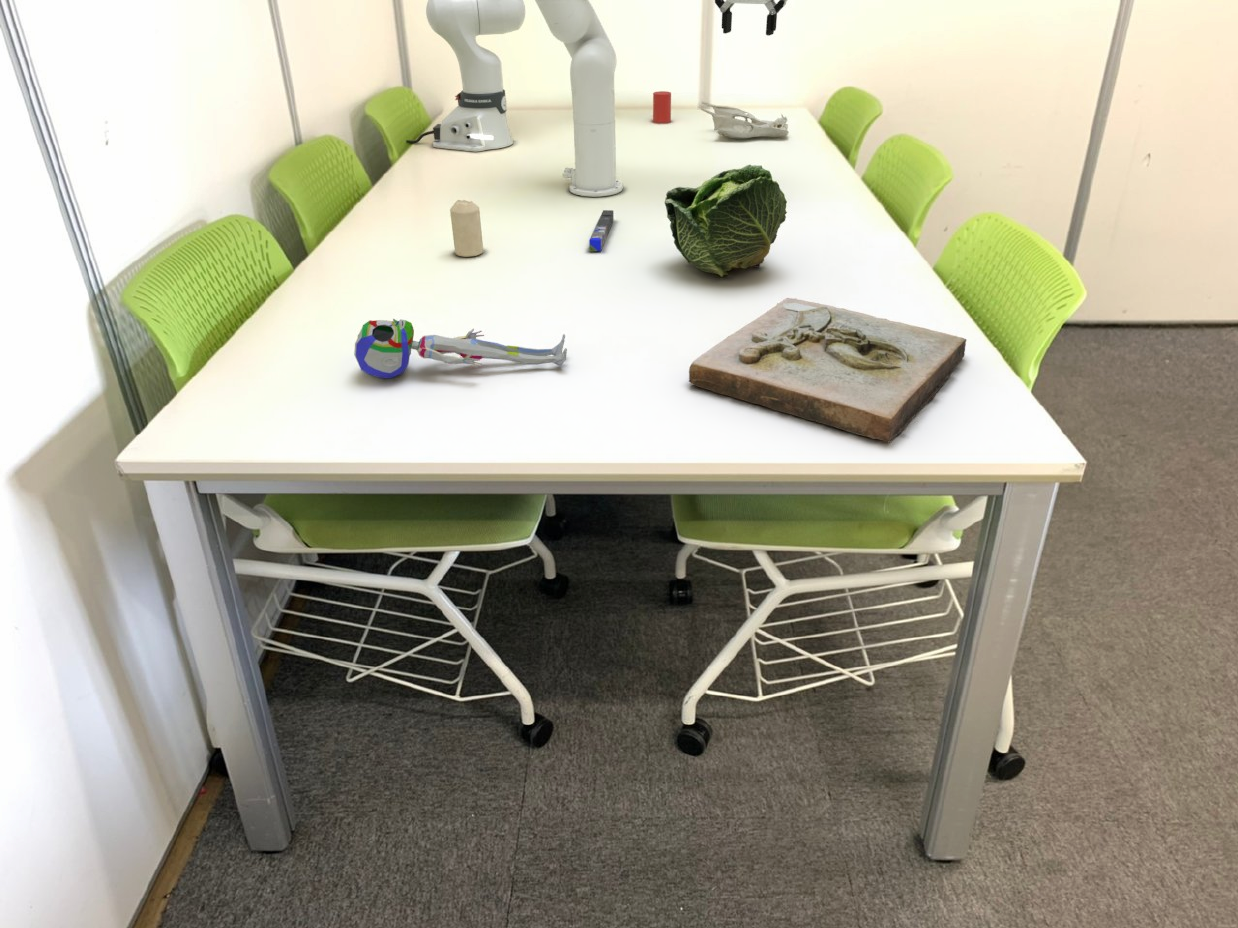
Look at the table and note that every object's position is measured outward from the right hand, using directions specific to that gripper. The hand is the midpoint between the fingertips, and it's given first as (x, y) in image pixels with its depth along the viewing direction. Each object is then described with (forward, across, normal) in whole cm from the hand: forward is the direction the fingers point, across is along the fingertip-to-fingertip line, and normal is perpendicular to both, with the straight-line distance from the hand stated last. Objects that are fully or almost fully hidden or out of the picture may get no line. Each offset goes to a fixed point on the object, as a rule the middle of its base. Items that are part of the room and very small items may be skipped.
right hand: (748, 33), depth 192 cm
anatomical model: (+33, +18, -52) cm, 64 cm away
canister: (+33, +48, -62) cm, 85 cm away
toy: (+33, +3, +106) cm, 111 cm away
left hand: (-2, +49, -62) cm, 79 cm away
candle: (+33, +32, +63) cm, 78 cm away
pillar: (+33, +14, +43) cm, 56 cm away
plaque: (+33, -45, +84) cm, 101 cm away
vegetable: (+33, -16, +51) cm, 63 cm away
